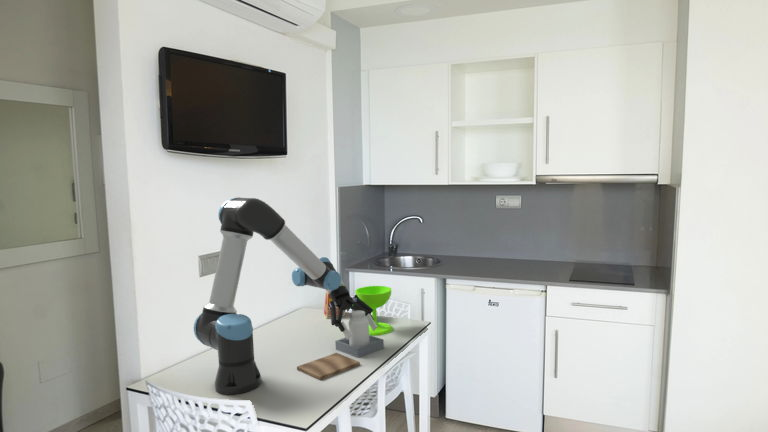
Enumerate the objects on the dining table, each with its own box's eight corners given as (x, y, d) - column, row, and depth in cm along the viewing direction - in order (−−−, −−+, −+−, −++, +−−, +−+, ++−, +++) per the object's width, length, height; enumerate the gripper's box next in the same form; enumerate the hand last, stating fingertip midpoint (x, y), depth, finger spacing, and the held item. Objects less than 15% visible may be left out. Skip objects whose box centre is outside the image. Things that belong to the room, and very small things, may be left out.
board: (319, 380, 177) (319, 376, 177) (297, 369, 187) (296, 366, 187) (359, 364, 189) (359, 361, 189) (336, 355, 199) (336, 352, 199)
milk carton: (323, 314, 257) (321, 274, 255) (341, 312, 259) (339, 272, 257) (327, 319, 248) (324, 278, 246) (345, 316, 251) (343, 276, 249)
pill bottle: (372, 350, 204) (370, 313, 202) (353, 353, 201) (351, 316, 199) (365, 344, 211) (364, 308, 210) (347, 347, 208) (345, 311, 207)
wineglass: (397, 325, 234) (395, 286, 232) (386, 336, 219) (385, 295, 217) (364, 323, 239) (362, 285, 237) (351, 334, 224) (349, 293, 222)
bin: (357, 357, 196) (357, 348, 196) (335, 349, 206) (335, 340, 206) (383, 347, 206) (383, 339, 205) (361, 340, 216) (361, 332, 215)
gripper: (356, 289, 224) (381, 330, 215) (308, 301, 207) (333, 346, 198) (363, 279, 220) (389, 320, 210) (315, 290, 203) (341, 336, 193)
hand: (362, 333), depth 204 cm, fingers open, 13 cm apart
